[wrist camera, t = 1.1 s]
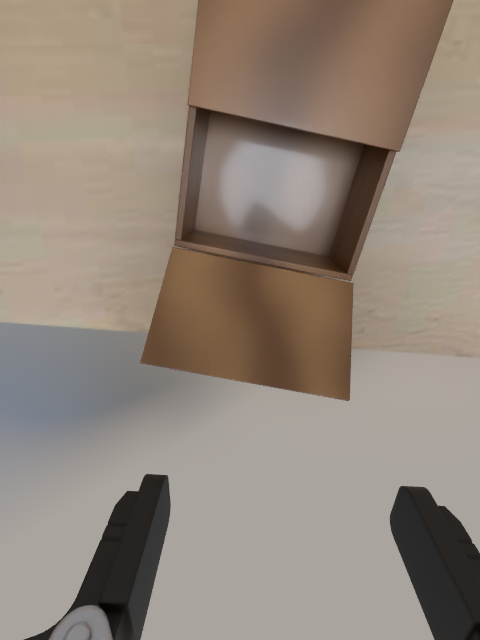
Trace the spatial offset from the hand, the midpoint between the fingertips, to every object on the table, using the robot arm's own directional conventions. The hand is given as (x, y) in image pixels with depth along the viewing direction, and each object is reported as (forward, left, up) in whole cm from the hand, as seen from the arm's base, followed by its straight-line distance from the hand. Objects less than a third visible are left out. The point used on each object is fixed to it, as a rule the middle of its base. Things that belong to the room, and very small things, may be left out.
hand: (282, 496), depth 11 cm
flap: (+1, +1, -13) cm, 13 cm away
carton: (+13, -2, -23) cm, 26 cm away
